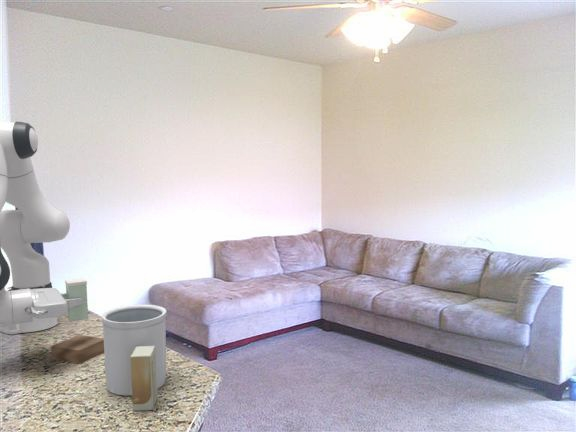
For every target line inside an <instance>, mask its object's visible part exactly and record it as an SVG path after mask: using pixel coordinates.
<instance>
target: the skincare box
mask: <svg viewBox="0 0 576 432" xmlns="http://www.w3.org/2000/svg"><path fill="white" fill-rule="evenodd" d="M130 359H131V380H132V395H131V396H132V397H131V398H132V399H131V400H132V411H133V412H138V411H152V410H154V407H155V406H156V402H157V401H158V389H157V377H156V352H155V346H139V347H136V348H135V349H134V351H133V353H132V355H131V357H130Z"/></svg>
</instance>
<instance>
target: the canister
mask: <svg viewBox="0 0 576 432" xmlns="http://www.w3.org/2000/svg"><path fill="white" fill-rule="evenodd" d="M64 283H65V293H66V297H67V299H75V298H78V297H81V298H82V299H83V304H82V305H76V306H73V307H71V308H68V314H67V315H66V316H67V319H68V321H69V322H77V321H84V320H88V319H89V307H88V306H89V305H88V291H87V290H88V287H87V285H88V281H87V280H86V279H85V278H84V277H81V278H73V279H66V280H64Z"/></svg>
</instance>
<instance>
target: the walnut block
mask: <svg viewBox="0 0 576 432" xmlns="http://www.w3.org/2000/svg"><path fill="white" fill-rule="evenodd" d="M50 348H51V359H52V360H55V361H61V362H65V363H71V364H72V363H73V364H77V365H80V364H83V363H85V362H87V361H89V360H91V359H94V358H96V357H98V356H100V355H102V354H104V337H95V336H90V335H83V334H78V335H76V336H73V337H71V338H68V339H66V340H63V341H60V342H58V343H56V344H53V345H51V347H50Z"/></svg>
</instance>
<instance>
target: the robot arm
mask: <svg viewBox="0 0 576 432" xmlns="http://www.w3.org/2000/svg"><path fill="white" fill-rule="evenodd" d="M38 145H39V138H38V135H37V133H36V129H35V128H34V127H33V126H32V125H31V124H30V123H27V122H23V121H15V122H14V121H0V333H4V334H6V335H17V334H21V333H23V334H24V333H33V332H39V331H43V330H48V329H51V328H53V327H55V326H57V325H58V324H59V319H60V317H65V316H68V315H67V314H68V308H71V307H73V306H76V305H82V304H83V299H82V298H81V297H78V298H75V299H67V297H66V292H62V293H60V291H59V290H58V289H57V288H56V287H53V285H52V282H51V277H50V276H51V275H50V262H49V259H48V258H47V257H46V256H45V255H43V254H41V253H39V252H37V251H36V250H35V249H34V248H33V247H32V245H31V244H34V243H35V244H39V243H40V244H41V243H44V244H45V243H52V242H57V241H62V240H64V239H65V238H66V237H67V235H68V234H69V232H70V228H71V227H70V226H71V225H70V219H69V218H68V216H67V214H66V213H65V212H64V211H62V210H60V209H58V208H56V207H55V206H54V205H52V203H50V202H49V201H48V200H47V199H46V197H45V196H44V195H43V193H42V191H41V189H40V187H39V185H38V181H37V178H36V174H35V169H34V165H33V162H32V160H31V157H33V156H34V155H35V154H36V153H37V150H38ZM6 203H7V204H9V205H11V206H13V207H15V209H5V210H3V207H4V206H5V204H6ZM16 208H17V209H16ZM2 250H3V252H4V253H5V255H6V257H7V259H8V261H7V260H6V258H5V257H4V254H3V252H2ZM8 262H9V263H8ZM9 265H10V266H9ZM10 278H12V286H10V287H7V289H8V290H6V286H7V284H8V282H9V280H10Z"/></svg>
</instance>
